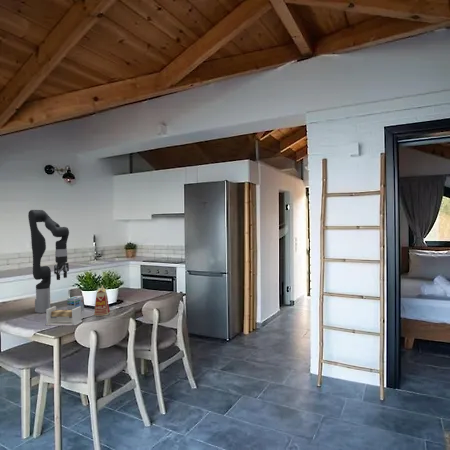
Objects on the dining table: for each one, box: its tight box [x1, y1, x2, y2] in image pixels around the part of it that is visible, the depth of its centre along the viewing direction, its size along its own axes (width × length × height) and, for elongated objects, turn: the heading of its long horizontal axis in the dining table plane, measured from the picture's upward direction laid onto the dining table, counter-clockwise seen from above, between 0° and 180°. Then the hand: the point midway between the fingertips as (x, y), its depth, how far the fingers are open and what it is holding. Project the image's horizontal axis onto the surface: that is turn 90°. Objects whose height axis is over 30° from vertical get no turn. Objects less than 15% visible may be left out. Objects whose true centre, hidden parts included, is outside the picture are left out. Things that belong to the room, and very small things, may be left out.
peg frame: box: [45, 305, 83, 326], centre depth 228 cm, size 20×9×10 cm, turn 84°
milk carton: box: [93, 285, 111, 317], centre depth 249 cm, size 9×9×20 cm
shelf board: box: [52, 309, 72, 317], centre depth 228 cm, size 14×5×3 cm, turn 84°
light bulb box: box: [66, 295, 85, 312], centre depth 258 cm, size 11×7×11 cm, turn 168°
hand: (61, 278), depth 246 cm, fingers open, 8 cm apart
